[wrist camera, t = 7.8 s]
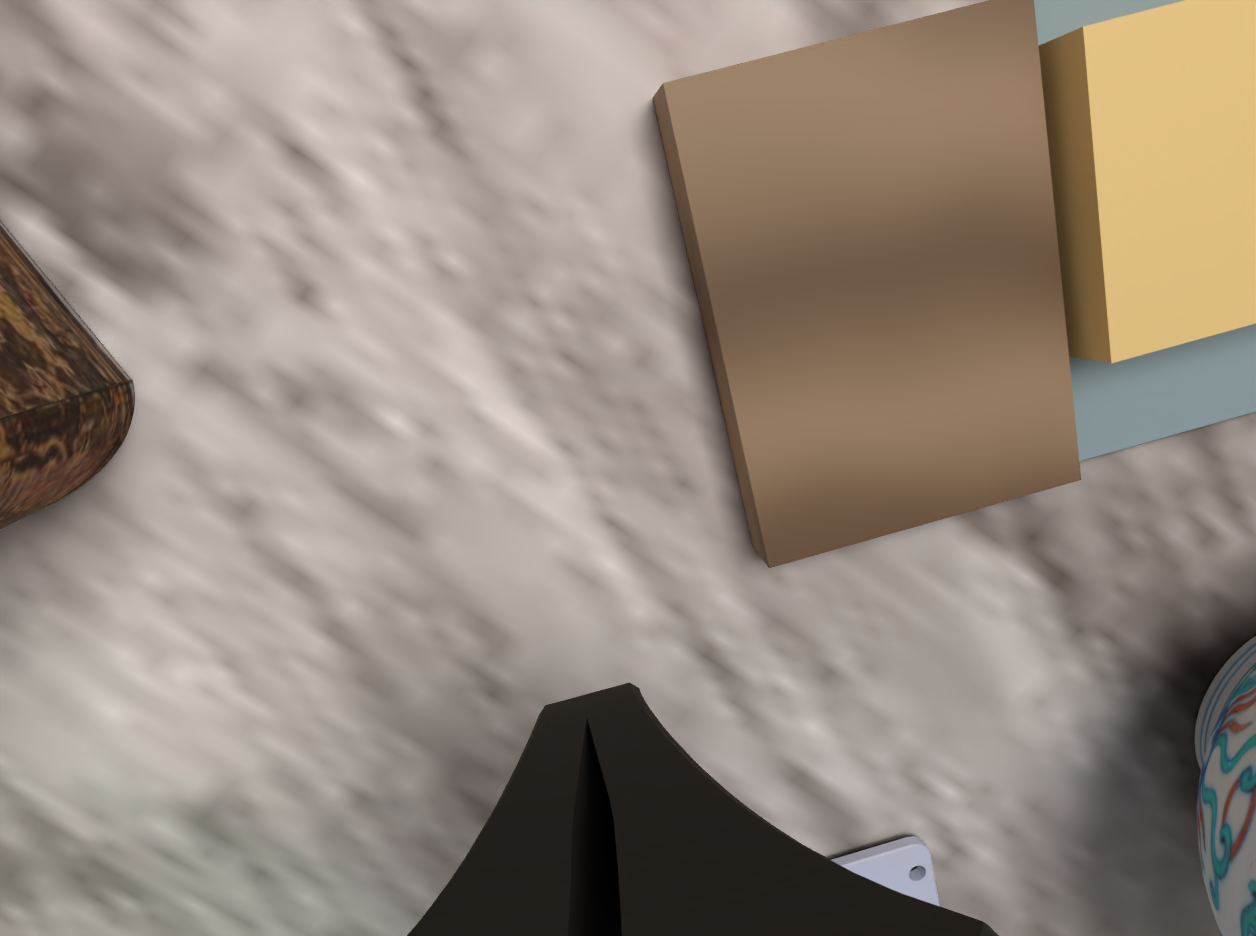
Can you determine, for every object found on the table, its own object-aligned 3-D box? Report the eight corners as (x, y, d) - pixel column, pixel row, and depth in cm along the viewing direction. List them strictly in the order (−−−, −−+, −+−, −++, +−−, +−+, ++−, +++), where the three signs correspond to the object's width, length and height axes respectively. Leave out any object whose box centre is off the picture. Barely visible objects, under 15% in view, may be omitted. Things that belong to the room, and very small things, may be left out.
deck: (1043, 464, 21) (1081, 479, 20) (753, 546, 21) (769, 567, 19) (993, 10, 18) (1032, -11, 17) (652, 97, 18) (663, 83, 16)
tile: (1280, 291, 20) (1358, 294, 18) (1055, 353, 20) (1111, 363, 18) (1272, -13, 18) (1359, -45, 16) (1024, 51, 18) (1083, 26, 16)
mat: (1342, 380, 21) (1357, 382, 21) (1047, 463, 21) (1056, 467, 21) (1340, -78, 18) (1358, -85, 18) (997, 10, 18) (1007, 4, 18)
